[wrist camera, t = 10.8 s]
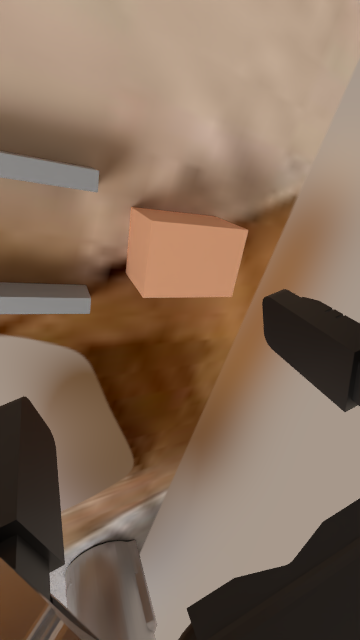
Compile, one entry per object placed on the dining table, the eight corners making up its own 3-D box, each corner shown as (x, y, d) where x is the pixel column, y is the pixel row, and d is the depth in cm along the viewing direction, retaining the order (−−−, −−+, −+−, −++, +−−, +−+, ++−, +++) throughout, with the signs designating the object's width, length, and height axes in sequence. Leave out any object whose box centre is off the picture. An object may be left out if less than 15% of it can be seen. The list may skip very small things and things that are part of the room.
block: (214, 216, 25) (248, 230, 21) (202, 274, 28) (231, 296, 24) (130, 206, 23) (152, 220, 18) (125, 272, 25) (143, 297, 21)
